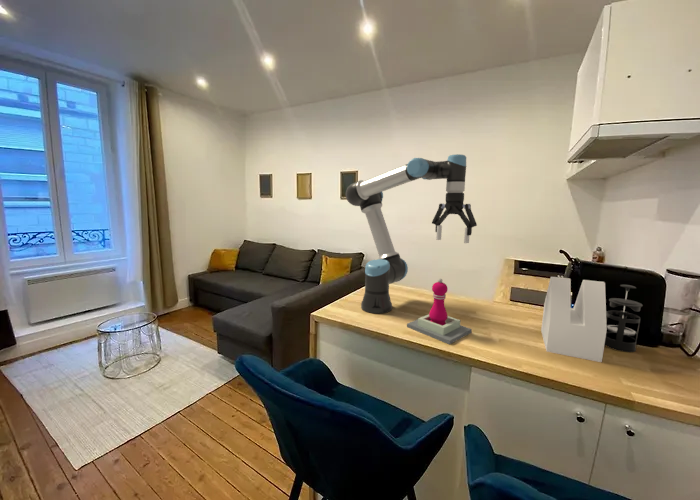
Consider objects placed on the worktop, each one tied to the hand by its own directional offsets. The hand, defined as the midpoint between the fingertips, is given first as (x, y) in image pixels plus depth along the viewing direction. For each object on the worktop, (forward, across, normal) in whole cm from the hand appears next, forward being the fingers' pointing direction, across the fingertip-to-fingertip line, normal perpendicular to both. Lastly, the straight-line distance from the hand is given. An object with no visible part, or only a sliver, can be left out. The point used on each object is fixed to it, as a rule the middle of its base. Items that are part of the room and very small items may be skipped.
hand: (452, 241), depth 132 cm
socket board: (+35, -6, +16) cm, 39 cm away
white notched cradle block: (+35, -44, -10) cm, 57 cm away
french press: (+35, -56, -24) cm, 70 cm away
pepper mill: (+33, -6, +16) cm, 37 cm away
